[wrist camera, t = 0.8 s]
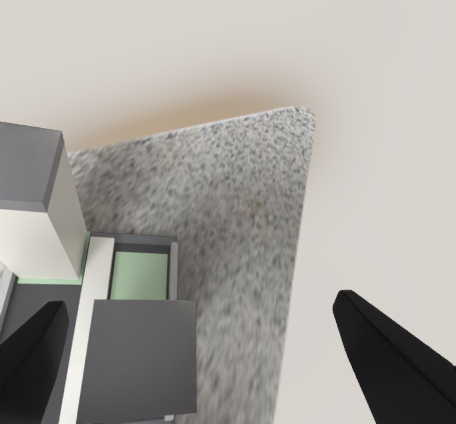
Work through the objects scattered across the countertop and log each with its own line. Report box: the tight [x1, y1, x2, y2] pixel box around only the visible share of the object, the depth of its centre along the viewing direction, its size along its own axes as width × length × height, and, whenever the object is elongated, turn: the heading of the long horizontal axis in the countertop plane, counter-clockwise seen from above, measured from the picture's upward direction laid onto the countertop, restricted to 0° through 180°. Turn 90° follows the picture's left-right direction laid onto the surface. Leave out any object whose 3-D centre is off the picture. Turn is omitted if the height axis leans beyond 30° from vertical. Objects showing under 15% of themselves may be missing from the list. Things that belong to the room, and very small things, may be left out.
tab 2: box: [76, 299, 197, 424], centre depth 14 cm, size 4×4×11 cm
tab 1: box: [0, 122, 87, 280], centre depth 16 cm, size 4×4×11 cm
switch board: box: [0, 231, 178, 424], centre depth 19 cm, size 14×11×2 cm
